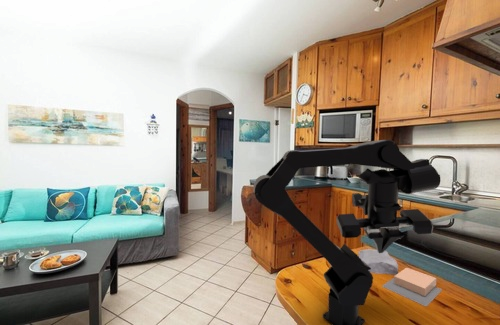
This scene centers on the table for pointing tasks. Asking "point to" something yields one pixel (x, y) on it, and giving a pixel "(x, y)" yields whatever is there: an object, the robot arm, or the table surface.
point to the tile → (415, 281)
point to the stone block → (379, 262)
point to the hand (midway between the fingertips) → (379, 251)
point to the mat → (412, 293)
